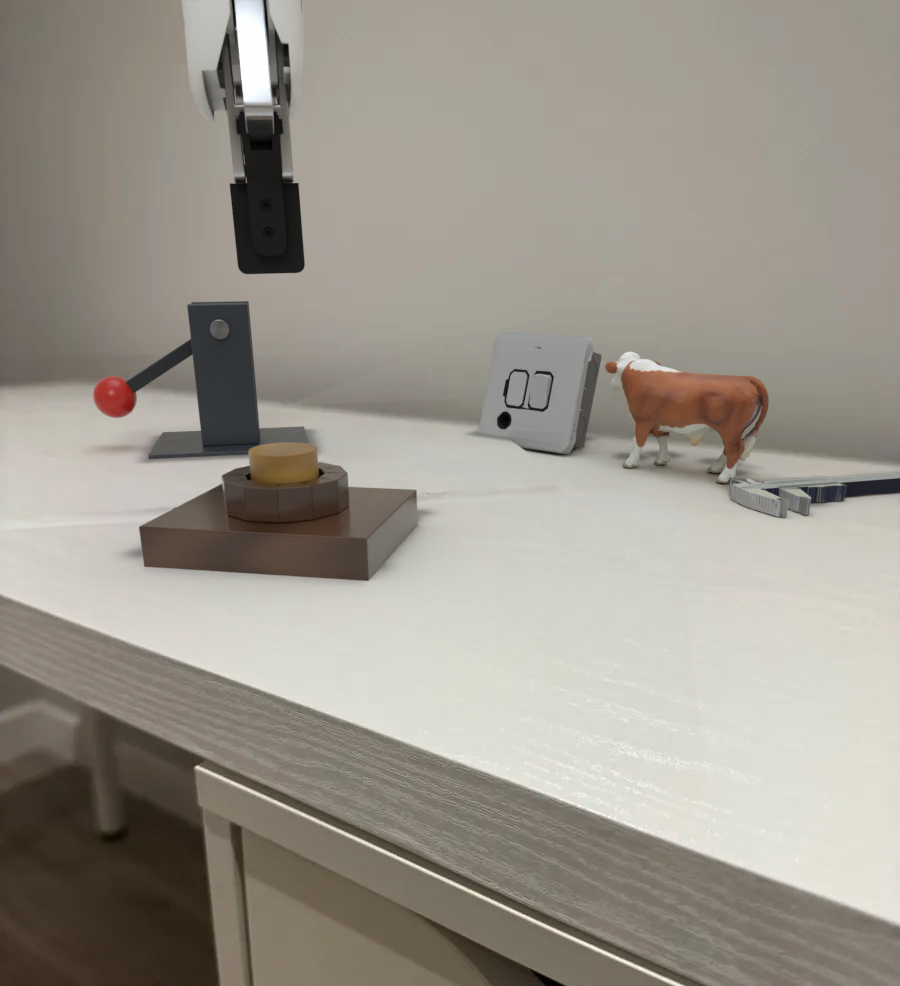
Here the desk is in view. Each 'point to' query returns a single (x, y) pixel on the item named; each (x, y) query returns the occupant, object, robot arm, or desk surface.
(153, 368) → the lever
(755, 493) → the caliper
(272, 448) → the button
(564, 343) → the electrical switch
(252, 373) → the switch bracket
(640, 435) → the bull figurine
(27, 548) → the desk surface
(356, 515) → the block
